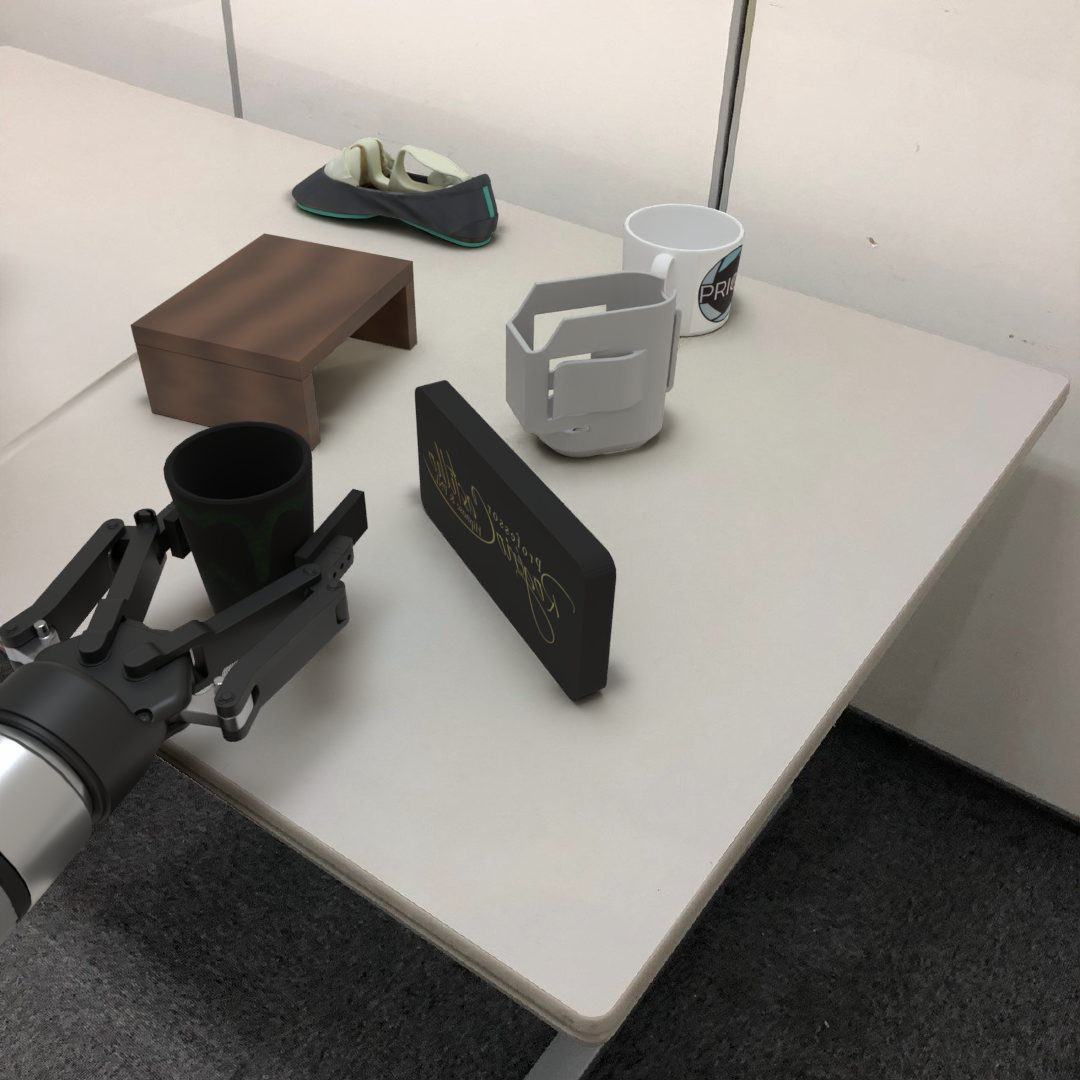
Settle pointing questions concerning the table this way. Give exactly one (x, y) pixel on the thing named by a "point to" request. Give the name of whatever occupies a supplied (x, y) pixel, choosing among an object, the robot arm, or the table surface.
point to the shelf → (269, 331)
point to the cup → (242, 504)
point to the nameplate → (517, 539)
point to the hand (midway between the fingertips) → (297, 492)
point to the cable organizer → (595, 362)
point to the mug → (687, 258)
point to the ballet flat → (403, 192)
